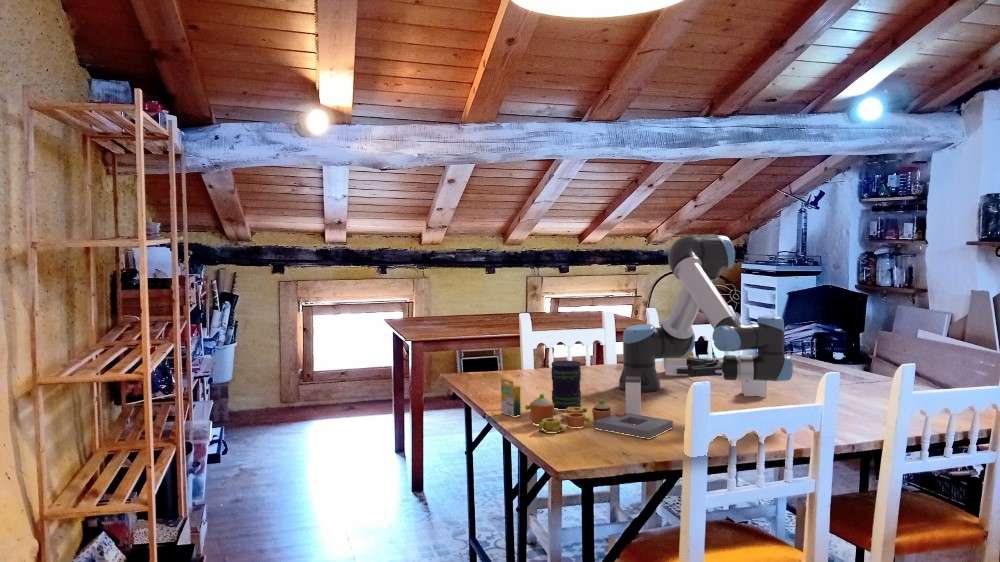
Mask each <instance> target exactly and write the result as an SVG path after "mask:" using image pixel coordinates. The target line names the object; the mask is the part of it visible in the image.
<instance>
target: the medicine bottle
mask: <svg viewBox="0 0 1000 562" xmlns="http://www.w3.org/2000/svg"><path fill="white" fill-rule="evenodd" d="M741 393H742V395H743V394H744V395H743V397H745V396H763V397H762V398H767V381H759V380H749V382H746V380H741ZM764 396H765V397H764Z"/></svg>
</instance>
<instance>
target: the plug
mask: <svg viewBox="0 0 1000 562" xmlns="http://www.w3.org/2000/svg"><path fill="white" fill-rule="evenodd" d="M625 381H626V390H625V412H626V413H631V414H637V415H642V395H641V394H642V392H641V377H632V376H626V379H625Z"/></svg>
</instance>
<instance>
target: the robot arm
mask: <svg viewBox="0 0 1000 562" xmlns="http://www.w3.org/2000/svg"><path fill="white" fill-rule="evenodd" d="M667 259H668V265H669V269H670V270H671V272H672V274H673V276H674V277H675V278H676V279H678V280H681V282H682V287H681V289H680V291H679V293H678V296H677V298H676V301H675V303H674V305H673V308H672V310H671V312H670V314H669V316H668V317H666V318H664V319H663V321H662V323H661V326H659V327H655V325H654V324H651V323H650V324H649V323H644V324H642V323H641V324H635V325H631V326H629V327H626V328H625V329H624V330H623V336H622V352H623V355H622V357H623V359H622V360H623V361H622V362H623V367H622V371H621V373H620V378H619V379H618V389H620V390H622V391H626V381H625V379H626V376H632V377H641V393H647V392H648V393H651V392H655V391H656V392H657V391H659V390H660V389H661V381H660V378H659V376H658V373H657V369H656V359H657V360H658V359H664V358H677V357H682V356H686V355H688V354H690V353H691V352H692V351H694V348H695V344H696V342H695V340H696V335H695V333H694V330H693V327H692V326H693V324H694V321H695V319H696V317H697V315H698V313H699V311H700V310H701V312H702V313H703V315H704V316H705V318H706V319H707V321H708V322H709V324H710V326H711V327H712V329H713V332H712V341H713V344H714V347H715V348H716V349H717V350H719V351H720V352H736V351H747V350H748V351H749V350H757V355H752V354H751V355H750V354H747V355H743V354H741V355H740V354H739V355H735V354H733V355H731V354H728V355H727V354H726V355H724V356H723V358H722V362H721V361H720V360H719V359H709V358H697V357H694V358H688V359H666V366H665V368H664V372H665V376H670V375H682V376H686V377H691V378H700V377H712V376H713V377H714V376H720V377H721V376H723V379H724V380H726V381H736V380H739V381H742V380H746V382H749V380H759V381H766V382H782V381H783V382H785V381H791V379H792V377H793V374H794V373H793V372H794V367H793V360H792V357H791V356H789V355H786V354H785V332H786V330H785V324H784V323H785V322H784V321H785V320H784V319H783V317H781V316H778V315H777V316H776V315H761V316H758V317H757V319H756V323H750V324H749V323H748V324H742V323H741V321H740V320H739V318H738V317H737V316H736V315H735V313H734V312H733V310H732V309H731V307H730V306H729V304H728V303H727V302H726V300H725V299H724V297H723V296H722V294H721V293H720V292H719V290H718V289H717V287H716V286H715V285H714V283H713V281H716V280H718V279H719V277H720V276H721V273H722V271H723V270H728V269H731V268H732V267H733V265H734V263H735V261H736V260H735V259H736V250H735V247H734V244H733V242H732V241H731V240H730V238H729V237H728V236H725V235H718V234H713V235H684V236H682V237H680V238H678V239H677V240H675V241H674V242H673V243H672V245H671V247H670V249H669V251H668V257H667Z"/></svg>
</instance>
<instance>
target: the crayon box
mask: <svg viewBox="0 0 1000 562" xmlns="http://www.w3.org/2000/svg"><path fill="white" fill-rule="evenodd" d="M505 382H506V383H505ZM500 386H501V389H500V390H501V392H500V395H501V398H500V399H501V400H500V401H501V403H500V404H501V405H500V406H501V408H500V409H501V412H504V413H506V414H509V415H512V416H517V415H521V412H522V411H521V408H522V407H521V386H520V385H515V384H514V381H512V380H508V379H506V378H505V379H504V378H503V377H502V378H500Z"/></svg>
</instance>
